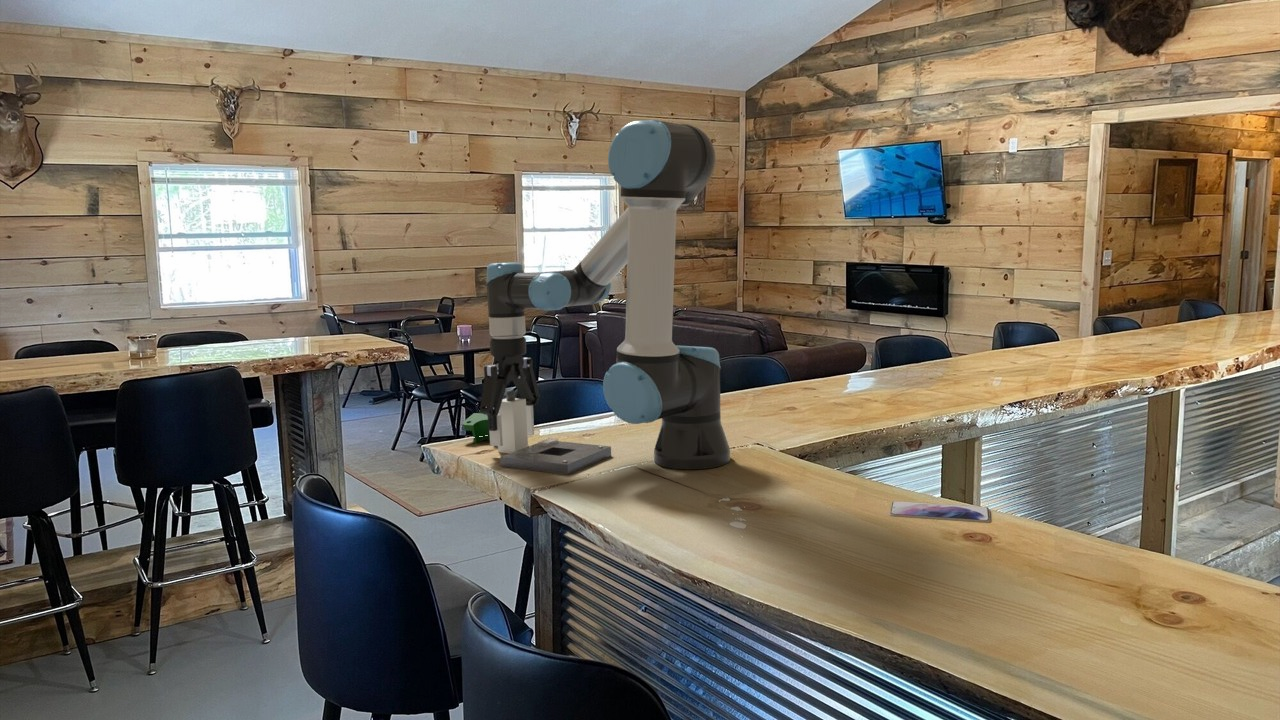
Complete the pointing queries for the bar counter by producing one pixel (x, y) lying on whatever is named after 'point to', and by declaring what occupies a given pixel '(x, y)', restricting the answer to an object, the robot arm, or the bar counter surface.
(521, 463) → the socket
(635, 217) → the robot arm
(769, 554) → the bar counter surface
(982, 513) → the smartphone
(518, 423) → the plug
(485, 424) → the clamp
